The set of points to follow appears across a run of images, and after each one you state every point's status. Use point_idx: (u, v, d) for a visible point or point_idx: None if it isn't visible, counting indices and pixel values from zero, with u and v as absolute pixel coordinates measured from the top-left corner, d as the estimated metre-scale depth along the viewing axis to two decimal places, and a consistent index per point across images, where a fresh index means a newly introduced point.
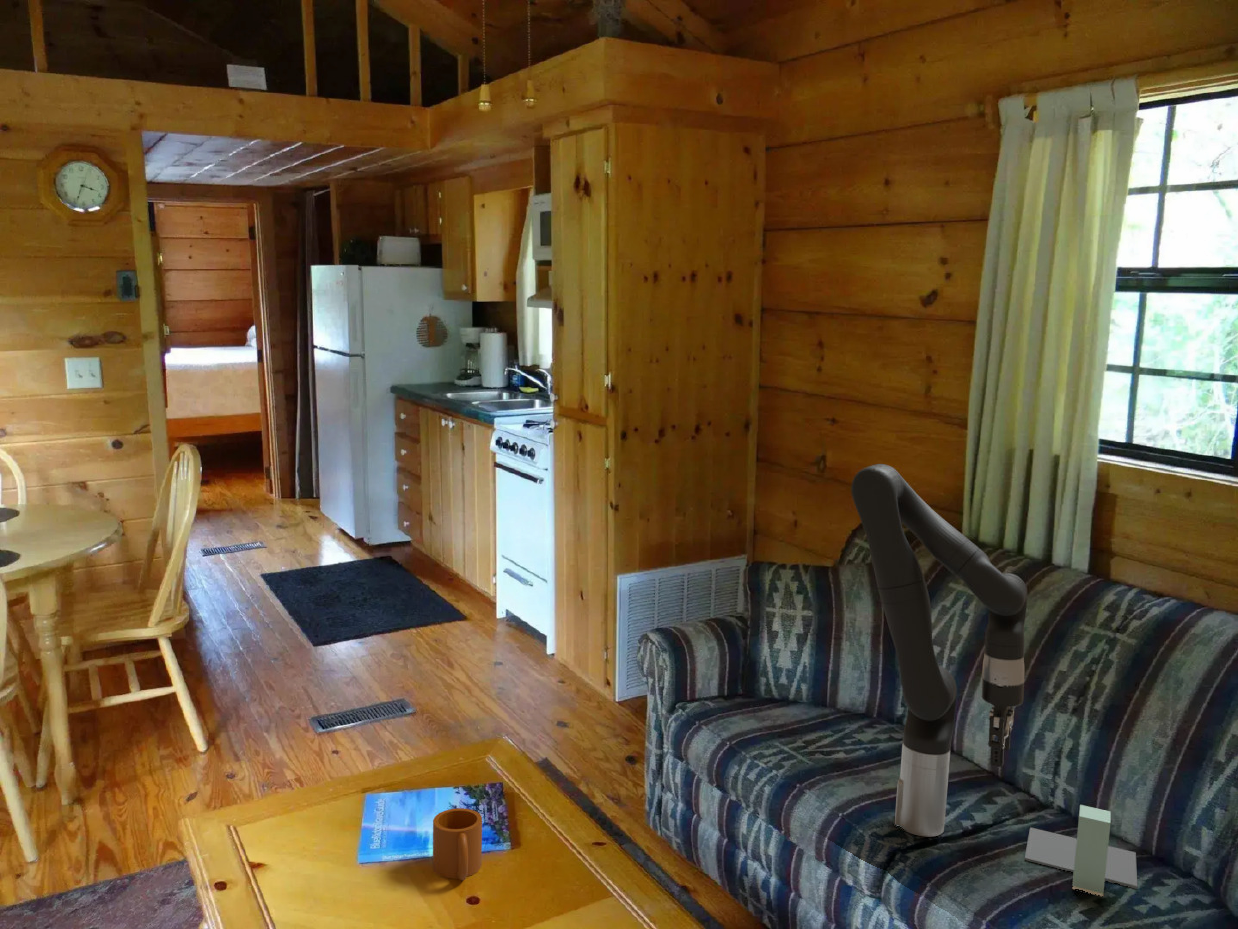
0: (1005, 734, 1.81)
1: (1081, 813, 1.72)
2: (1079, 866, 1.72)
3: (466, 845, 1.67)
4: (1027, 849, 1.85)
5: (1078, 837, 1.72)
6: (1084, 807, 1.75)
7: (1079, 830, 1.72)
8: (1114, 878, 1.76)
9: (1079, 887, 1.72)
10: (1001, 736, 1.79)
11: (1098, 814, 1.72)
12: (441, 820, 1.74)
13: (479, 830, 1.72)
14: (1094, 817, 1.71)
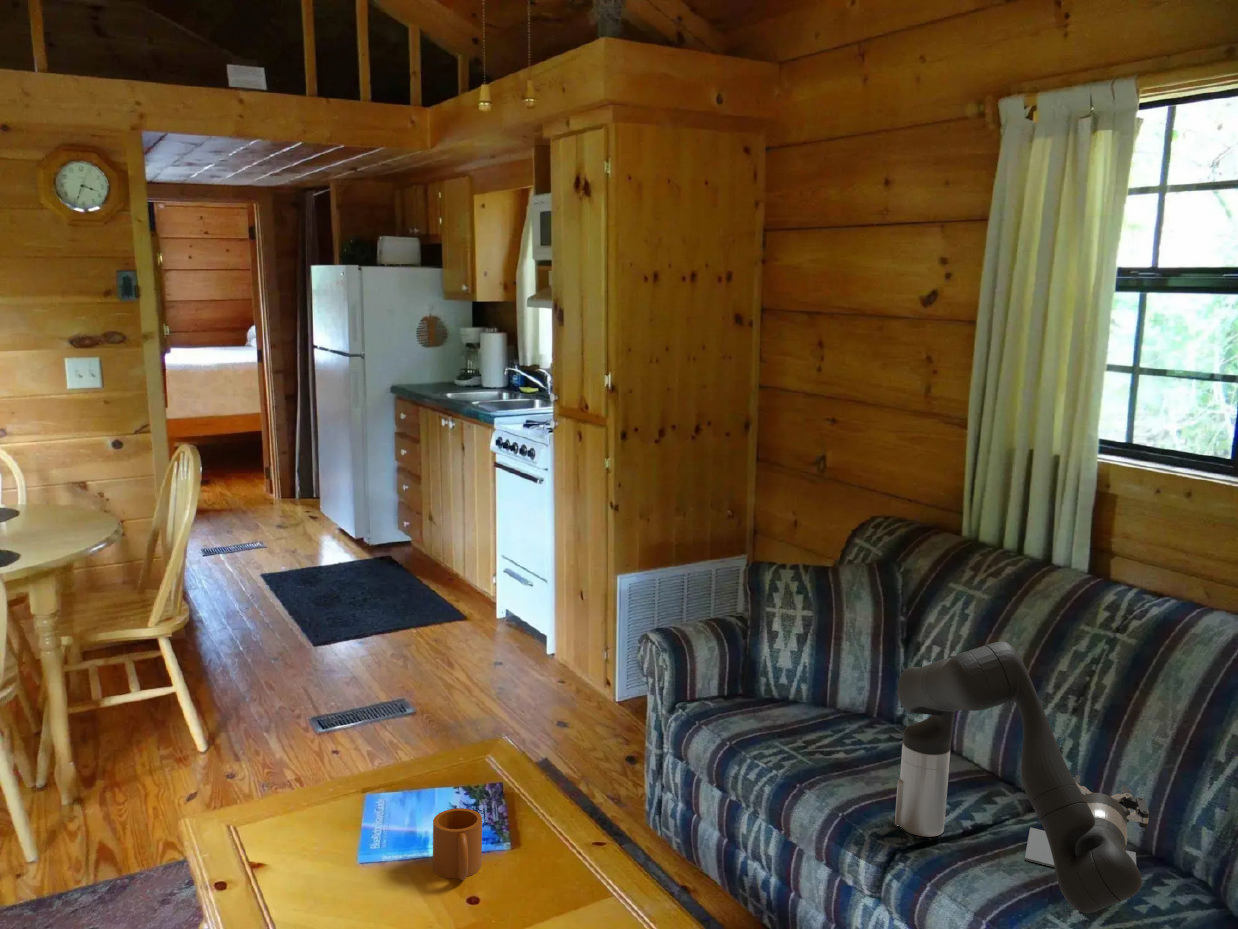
0: None
1: None
2: None
3: (466, 845, 1.67)
4: (1027, 849, 1.85)
5: None
6: None
7: None
8: None
9: None
10: None
11: None
12: (441, 820, 1.74)
13: (479, 830, 1.72)
14: None
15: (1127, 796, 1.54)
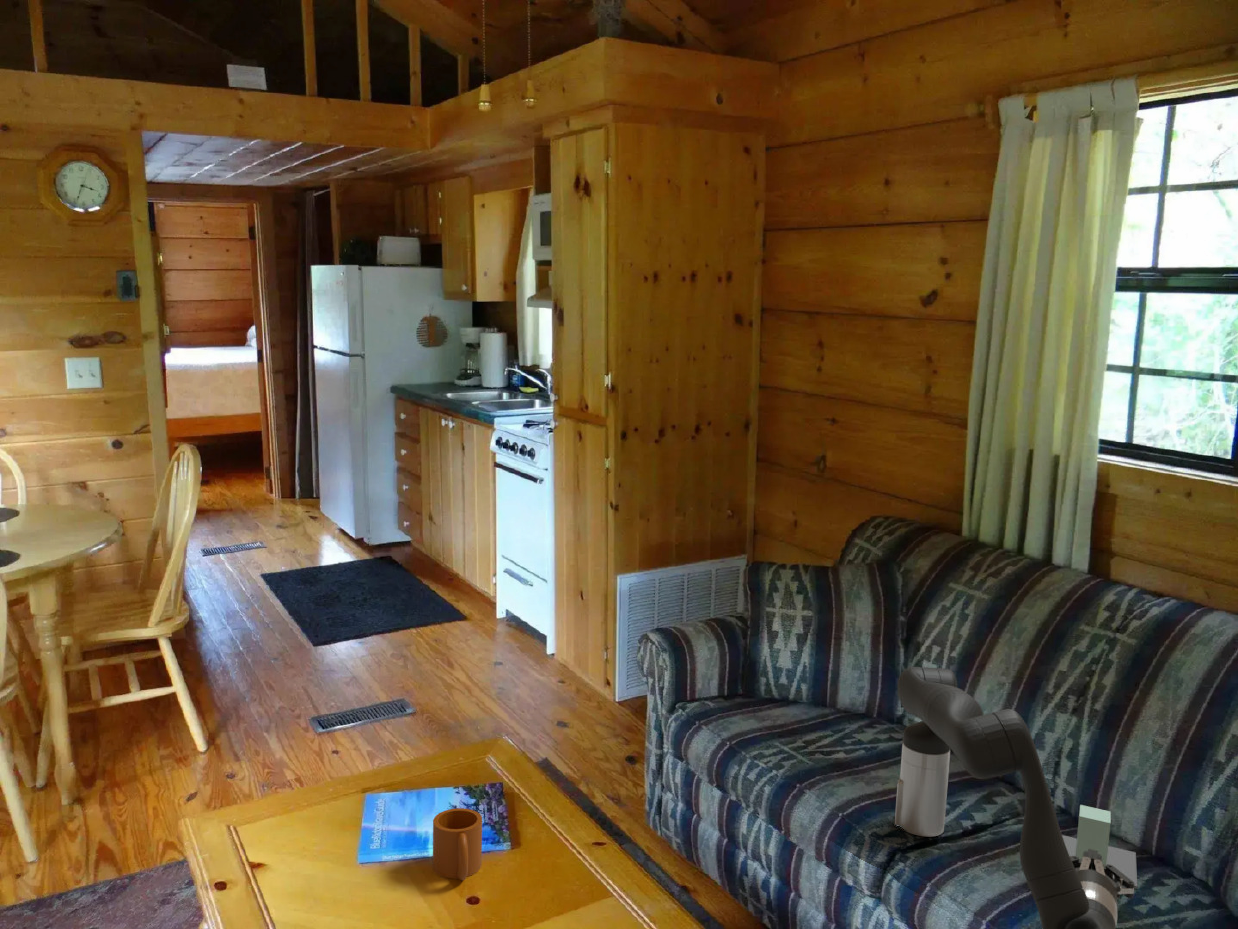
0: None
1: (1081, 813, 1.72)
2: None
3: (466, 845, 1.67)
4: None
5: (1078, 837, 1.72)
6: (1084, 807, 1.75)
7: (1079, 830, 1.72)
8: None
9: None
10: None
11: (1098, 814, 1.72)
12: (441, 820, 1.74)
13: (479, 830, 1.72)
14: (1095, 817, 1.71)
15: (1097, 863, 1.59)
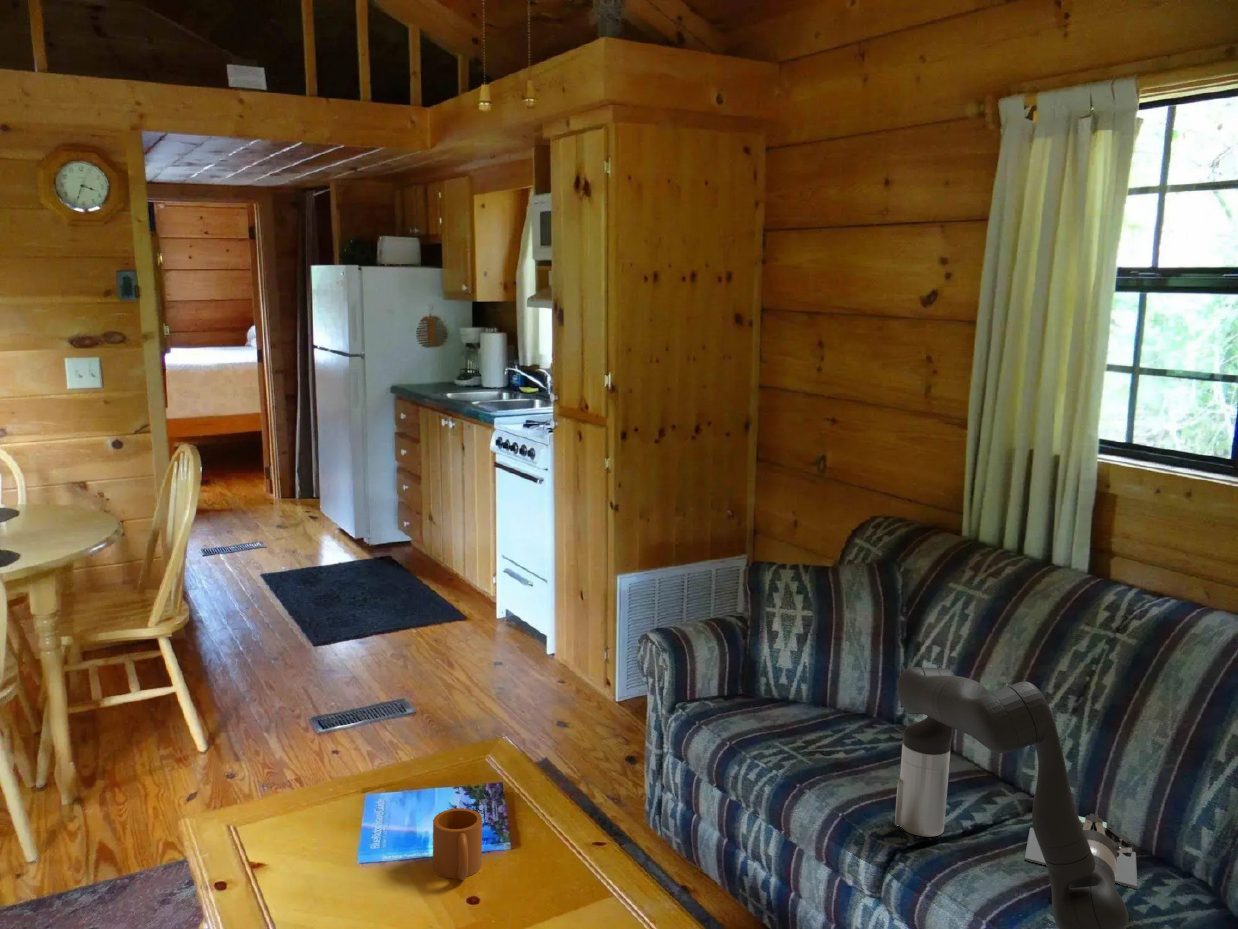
0: None
1: None
2: None
3: (466, 845, 1.67)
4: (1027, 849, 1.85)
5: None
6: None
7: None
8: None
9: None
10: None
11: None
12: (441, 820, 1.74)
13: (479, 830, 1.72)
14: None
15: (1098, 826, 1.72)
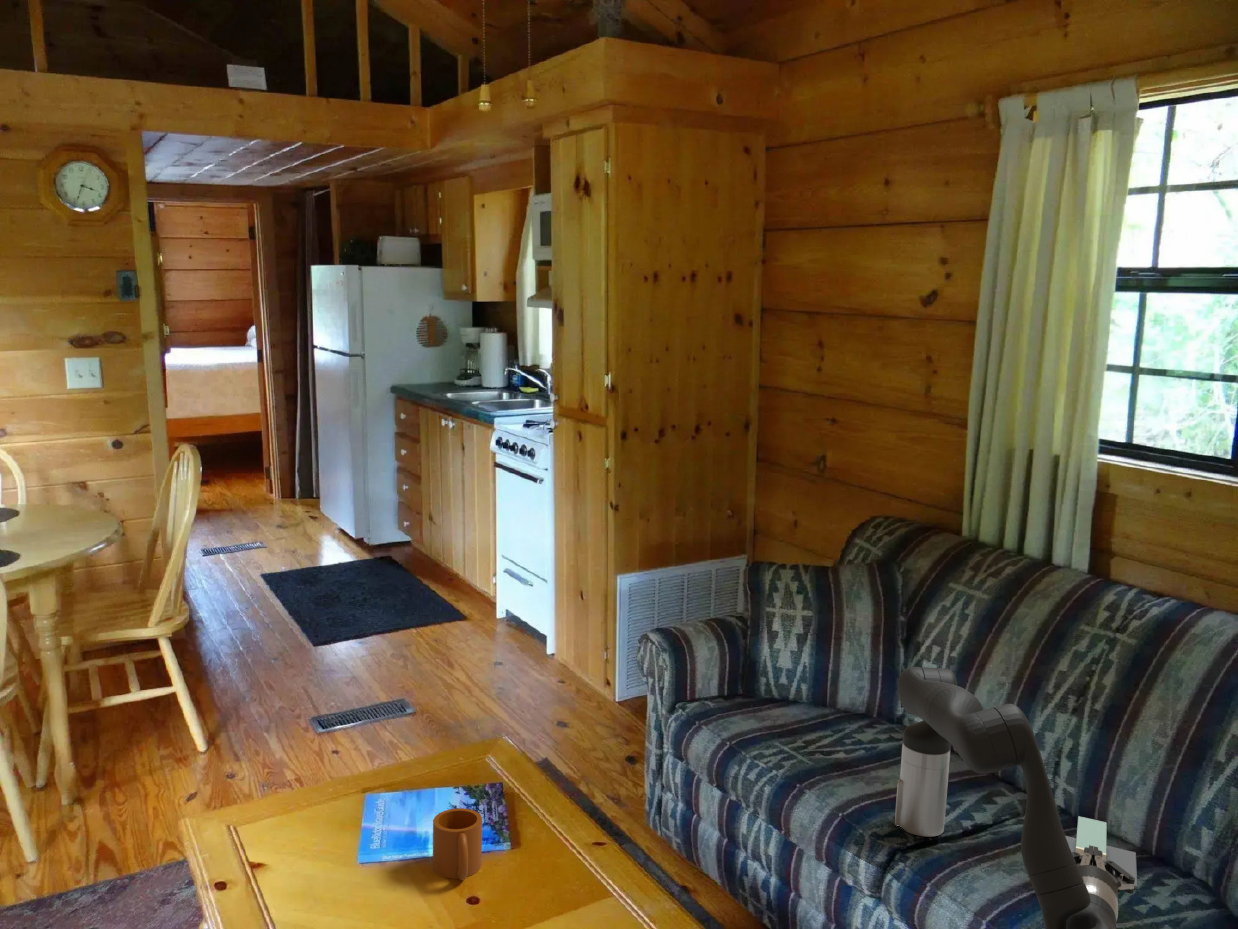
0: None
1: None
2: (1081, 838, 1.80)
3: (466, 845, 1.67)
4: None
5: (1078, 825, 1.85)
6: None
7: (1079, 822, 1.87)
8: None
9: (1082, 848, 1.77)
10: None
11: None
12: (441, 820, 1.74)
13: (479, 830, 1.72)
14: None
15: (1098, 859, 1.60)
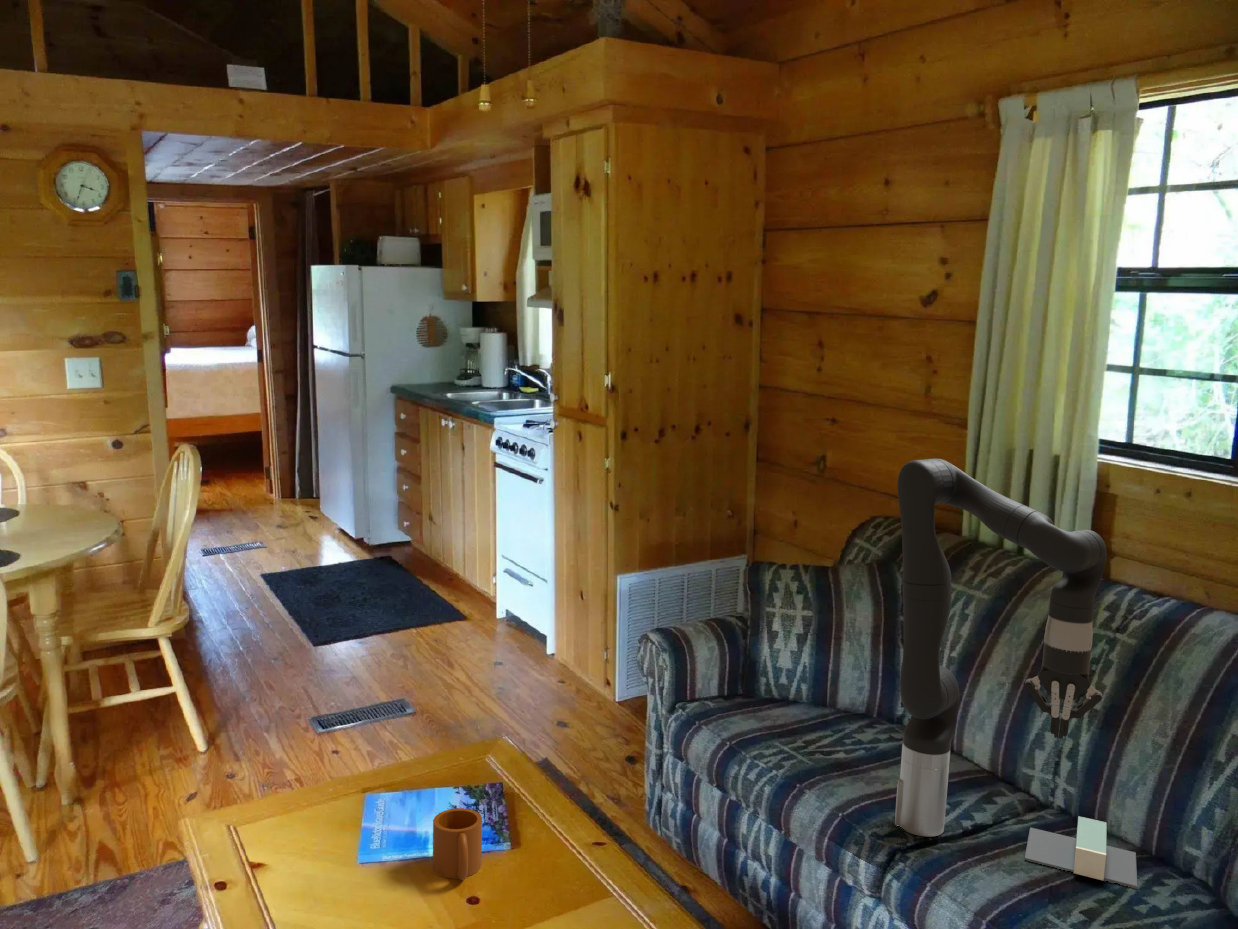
0: (1051, 703, 1.68)
1: None
2: (1081, 838, 1.80)
3: (466, 845, 1.67)
4: (1027, 849, 1.85)
5: (1078, 825, 1.85)
6: None
7: (1079, 822, 1.87)
8: (1114, 878, 1.76)
9: (1082, 848, 1.77)
10: None
11: None
12: (441, 820, 1.74)
13: (479, 830, 1.72)
14: None
15: None
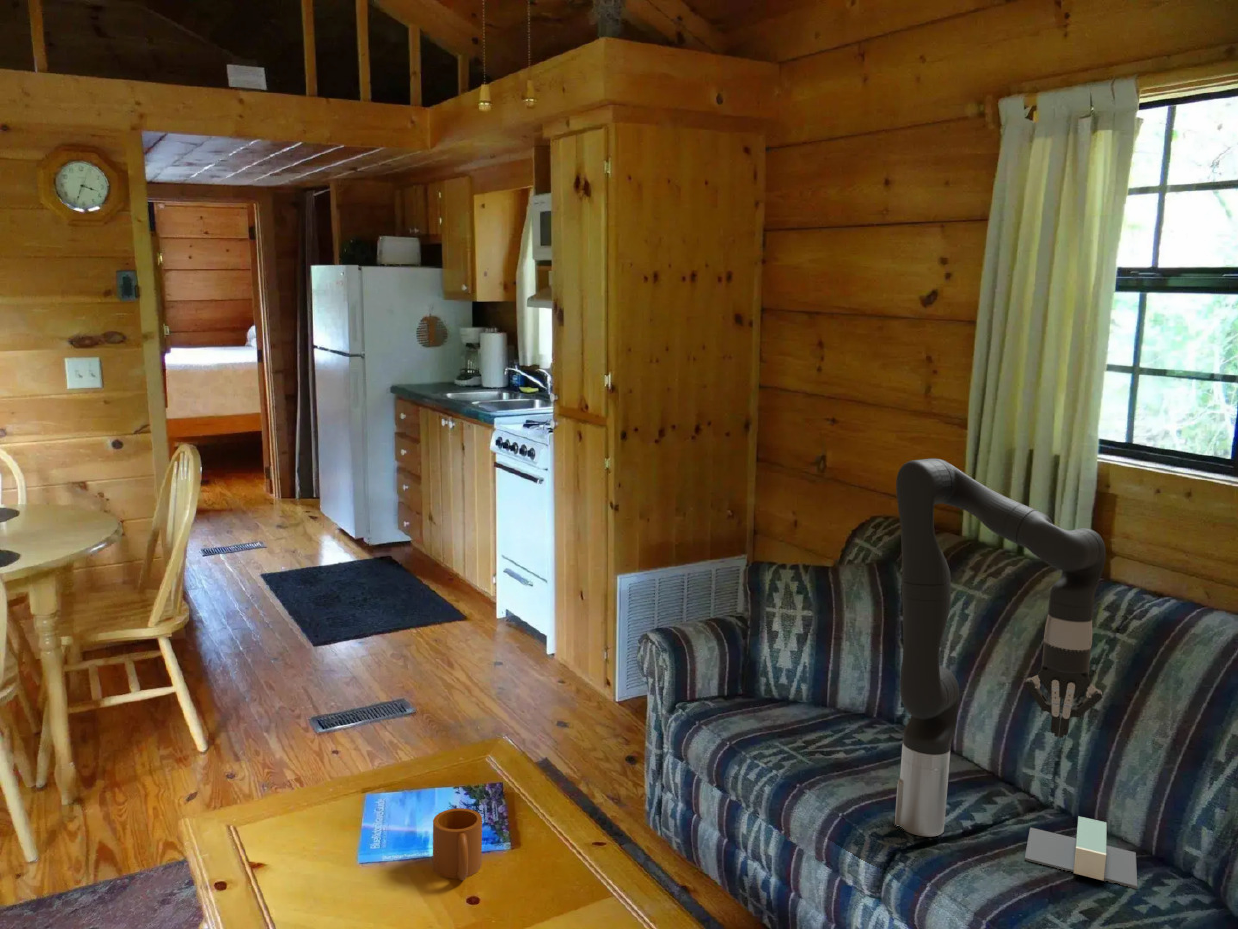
0: None
1: None
2: (1081, 838, 1.80)
3: (466, 845, 1.67)
4: (1027, 849, 1.85)
5: (1078, 825, 1.85)
6: None
7: (1079, 822, 1.87)
8: (1114, 878, 1.76)
9: (1082, 848, 1.77)
10: None
11: None
12: (441, 820, 1.74)
13: (479, 830, 1.72)
14: None
15: None
